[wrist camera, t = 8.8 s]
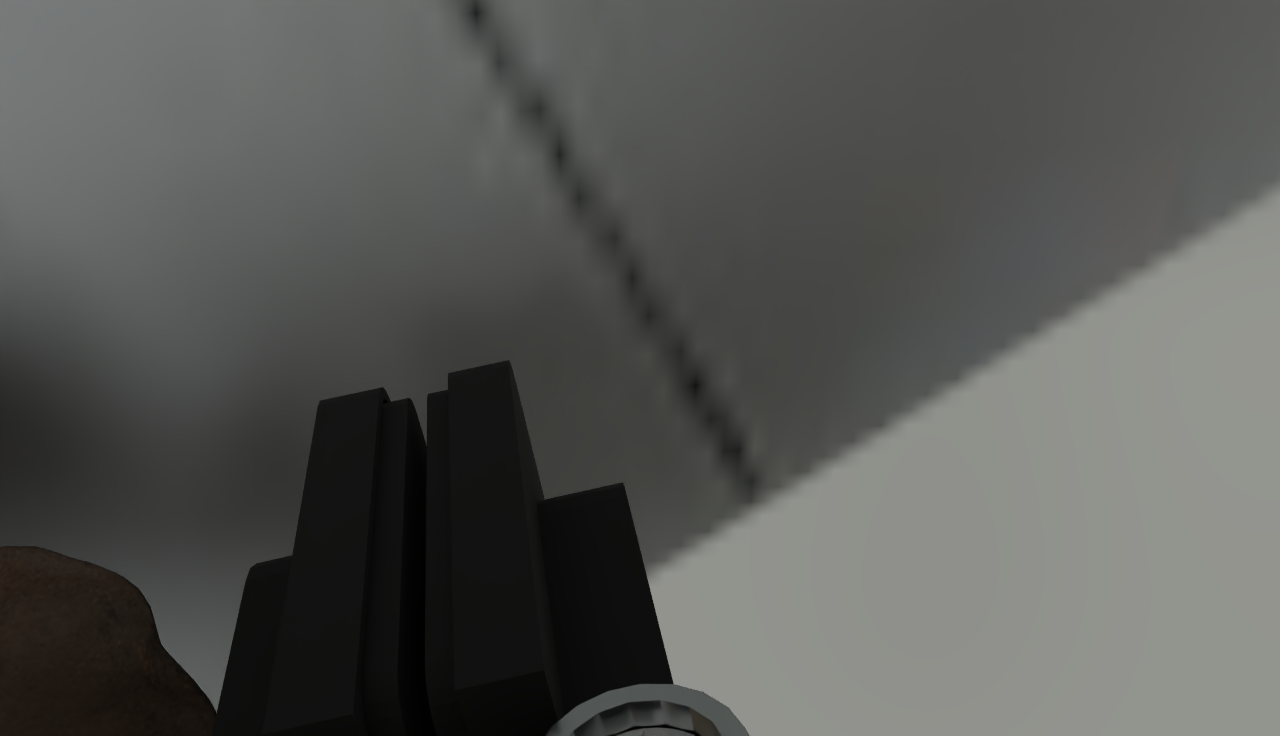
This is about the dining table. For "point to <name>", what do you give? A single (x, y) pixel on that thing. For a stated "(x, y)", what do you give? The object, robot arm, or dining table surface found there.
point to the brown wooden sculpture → (86, 655)
